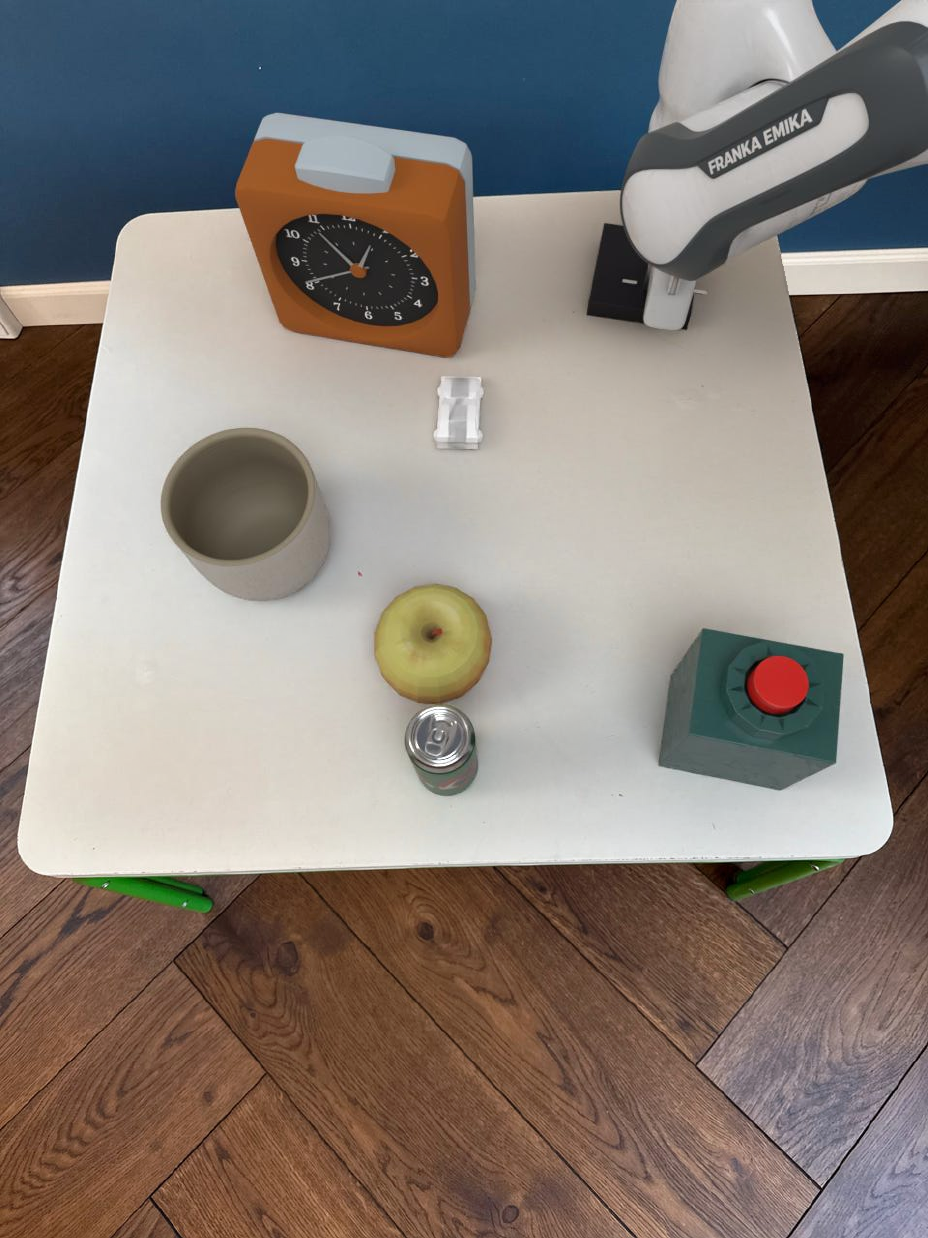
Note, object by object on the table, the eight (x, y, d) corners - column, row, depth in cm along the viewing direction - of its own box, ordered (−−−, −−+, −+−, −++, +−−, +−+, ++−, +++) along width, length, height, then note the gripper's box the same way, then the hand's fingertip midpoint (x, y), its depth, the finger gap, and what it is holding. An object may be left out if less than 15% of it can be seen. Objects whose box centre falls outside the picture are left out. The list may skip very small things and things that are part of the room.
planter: (363, 524, 80) (344, 464, 70) (292, 638, 77) (261, 592, 66) (251, 470, 82) (216, 404, 72) (176, 578, 79) (129, 524, 69)
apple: (500, 703, 74) (501, 677, 66) (387, 721, 74) (375, 697, 66) (482, 597, 77) (480, 560, 70) (373, 614, 77) (360, 579, 70)
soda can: (486, 747, 73) (484, 713, 61) (466, 805, 71) (461, 781, 60) (429, 728, 73) (417, 691, 62) (408, 785, 72) (392, 758, 61)
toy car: (432, 453, 82) (431, 440, 80) (437, 381, 85) (436, 367, 83) (482, 454, 82) (481, 442, 80) (485, 382, 85) (485, 368, 83)
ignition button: (802, 668, 60) (810, 661, 58) (798, 718, 59) (806, 712, 57) (749, 658, 61) (756, 651, 59) (744, 708, 59) (751, 701, 58)
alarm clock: (280, 332, 88) (219, 163, 68) (304, 264, 91) (252, 82, 71) (458, 362, 86) (448, 197, 66) (477, 291, 89) (473, 113, 69)
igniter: (789, 697, 73) (854, 645, 60) (781, 790, 71) (846, 758, 58) (670, 674, 74) (708, 619, 61) (658, 766, 72) (694, 728, 59)
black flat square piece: (709, 252, 89) (714, 236, 87) (696, 340, 86) (701, 326, 84) (601, 237, 90) (604, 221, 88) (584, 324, 87) (586, 309, 85)
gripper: (721, 268, 68) (685, 375, 81) (747, 79, 75) (710, 205, 88) (640, 256, 69) (617, 364, 82) (674, 70, 75) (647, 197, 88)
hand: (665, 281), depth 85 cm, fingers open, 4 cm apart
